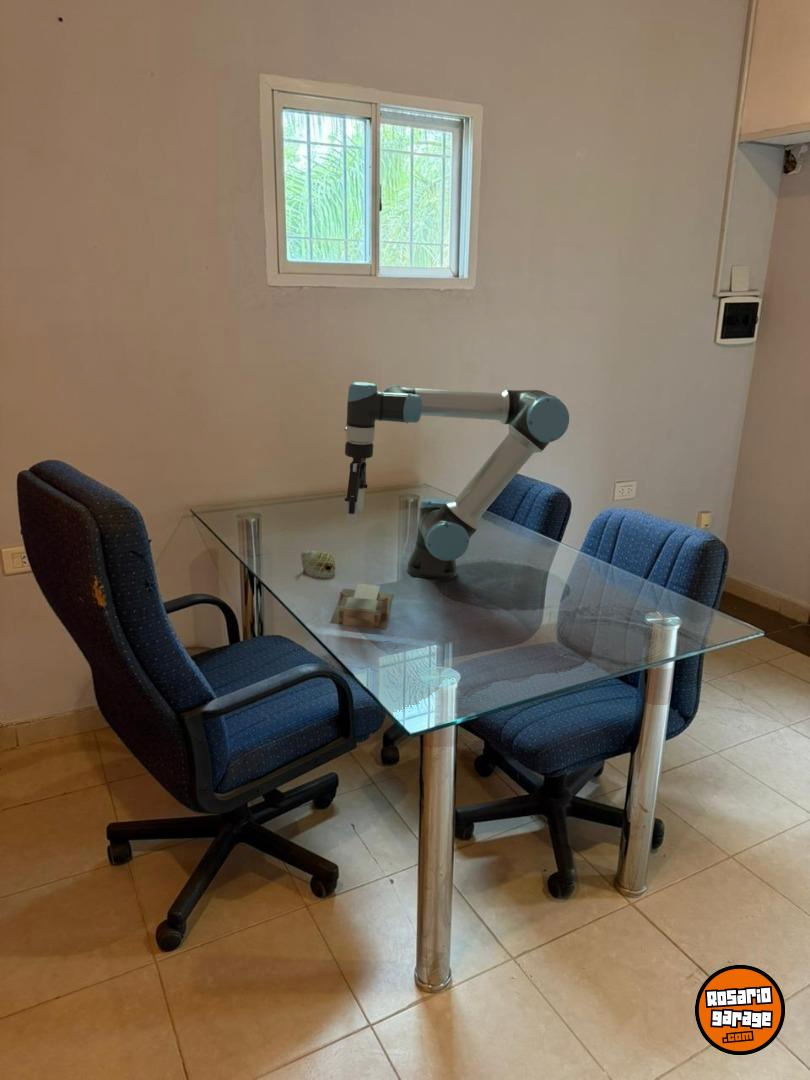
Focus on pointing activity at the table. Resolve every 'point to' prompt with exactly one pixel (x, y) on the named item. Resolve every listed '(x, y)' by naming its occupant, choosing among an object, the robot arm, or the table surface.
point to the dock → (362, 610)
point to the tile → (367, 591)
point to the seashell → (318, 564)
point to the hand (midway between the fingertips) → (354, 517)
